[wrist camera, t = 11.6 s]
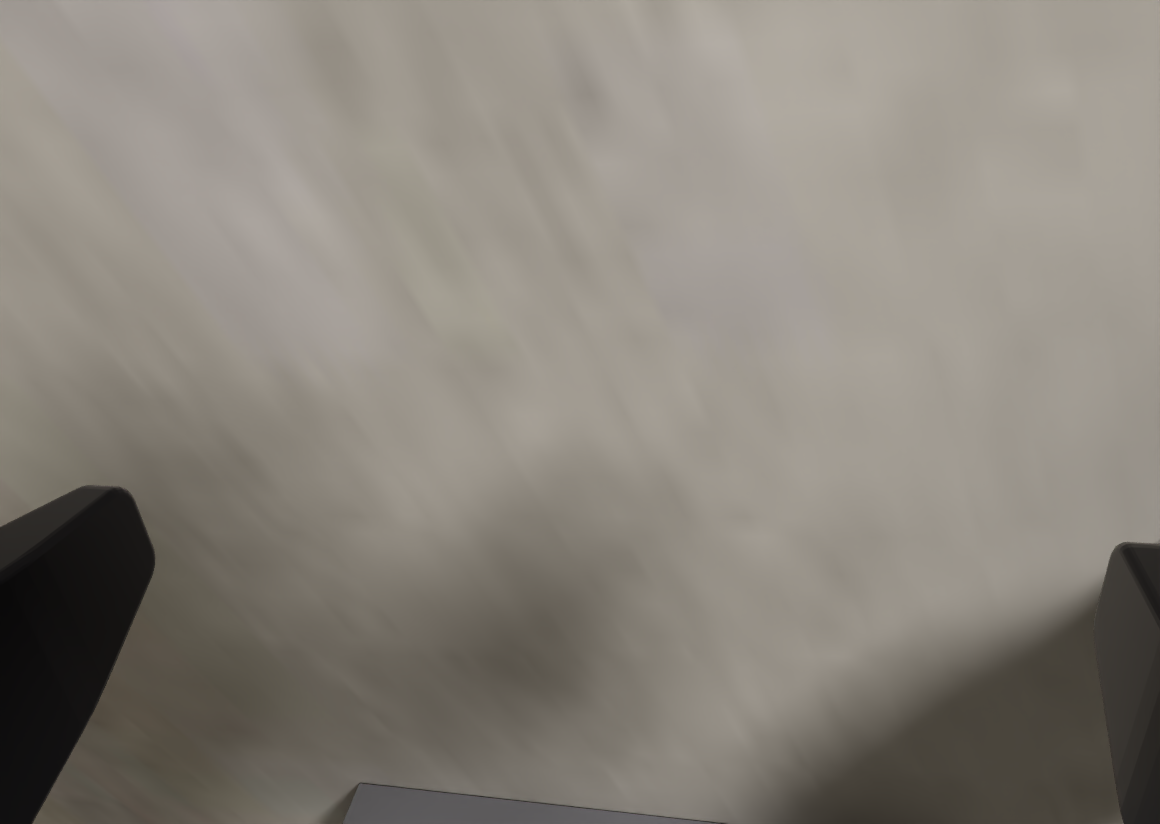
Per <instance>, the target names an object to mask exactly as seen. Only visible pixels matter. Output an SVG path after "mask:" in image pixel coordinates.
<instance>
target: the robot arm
mask: <svg viewBox="0 0 1160 824" xmlns="http://www.w3.org/2000/svg"><path fill="white" fill-rule="evenodd" d="M154 567H155V553H154V548H153V545H152V543H151V540H150V538H149V535H148V533H147V530H146V528H145V525H144V522H143V520H142V517H141V515H140V512H139V510H138V507H137V505H136V502H135V500H134V498H133V496H132V495H131V494H130V493H129V492H128V491H127V490H126V489H124V488H121V487H117V486H99V485H87V486H82V487H80V488H77V489H75V490H73V491H71V492H69V493H67V494H65V495H63V496H61V497H59V498H57V499H55V500H53V501H51V502H49V503H47V504H45V505H43V506H41V507H39V508H37V509H35V510H33V511H31V512H29V513H27V514H25V515H23V516H21V517H19V518H17V519H15V520H13V521H11V522H9V523H7V524H5V525H4V526H2V527H0V824H32V823H33V821H34V820H35V818H36V816H37V814H38V812H39V811H40V809H41V807H42V805H43V803H44V802H45V800H46V798H47V796H48V794H49V792H50V791H51V789H52V787H53V785H54V783H55V782H56V780H57V778H58V776H59V774H60V772H61V771H62V769H63V767H64V765H65V763H66V762H67V760H68V758H69V756H70V754H71V752H72V751H73V749H74V747H75V745H76V743H77V742H78V740H79V738H80V736H81V734H82V733H83V731H84V729H85V727H86V725H87V723H88V721H89V719H90V717H91V715H92V713H93V711H94V710H95V708H96V705H97V703H98V701H99V699H100V697H101V694H102V692H103V690H104V688H105V686H106V684H107V681H108V679H109V676H110V674H111V672H112V669H113V667H114V665H115V662H116V660H117V658H118V655H119V653H120V651H121V648H122V646H123V644H124V641H125V639H126V637H127V634H128V632H129V629H130V627H131V625H132V622H133V620H134V618H135V615H136V613H137V611H138V608H139V606H140V604H141V601H142V599H143V597H144V594H145V592H146V590H147V587H148V585H149V582H150V580H151V578H152V575H153V571H154ZM1094 642H1095V650H1096V656H1097V663H1098V669H1099V676H1100V683H1101V689H1102V696H1103V703H1104V709H1105V716H1106V722H1107V729H1108V736H1109V742H1110V749H1111V756H1112V762H1113V769H1114V775H1115V782H1116V788H1117V794H1118V800H1119V805H1120V811H1121V815H1122V819H1123V823H1124V824H1160V544H1152V543H1134V542H1123V543H1121V544H1119V545H1117V546H1116V547H1115V549H1114V550H1113V552H1112V554H1111V556H1110V560H1109V564H1108V567H1107V571H1106V575H1105V579H1104V583H1103V587H1102V591H1101V594H1100V598H1099V602H1098V606H1097V610H1096V614H1095V621H1094Z"/></svg>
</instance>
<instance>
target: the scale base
mask: <svg viewBox="0 0 1160 824" xmlns="http://www.w3.org/2000/svg"><path fill="white" fill-rule="evenodd" d="M343 824H719V823H710V822H701V821H692V820H683V819H675V818H666V817H657V816H648V815H639V814H630V813H621V812H612V811H603V810H594V809H585V808H576V807H567V806H558V805H549V804H540V803H531V802H522V801H513V800H505V799H496V798H487V797H478V796H469V795H460V794H451V793H442V792H433V791H424V790H415V789H406V788H397V787H388V786H379V785H370V784H361V783H359V786H358V788H357V790H356V793H355V795H354V797H353V800H352V802H351V805H350V807H349V809H348V812H347V814H346V816H345V819H344V821H343Z"/></svg>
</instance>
